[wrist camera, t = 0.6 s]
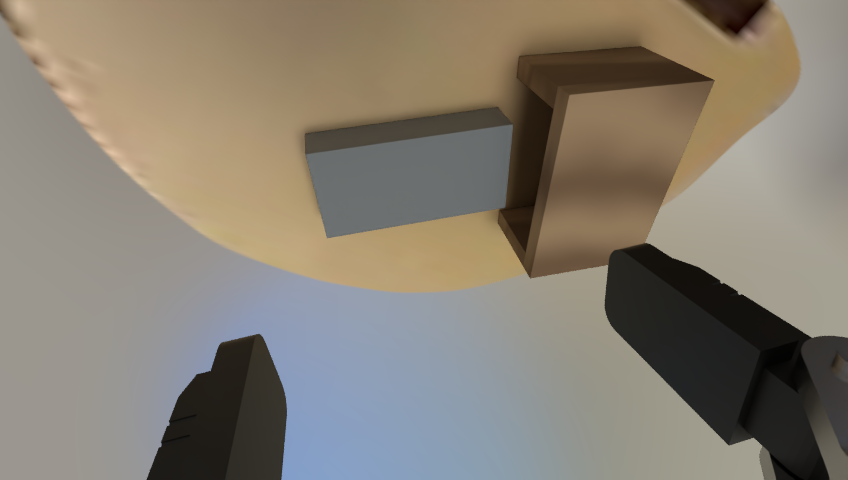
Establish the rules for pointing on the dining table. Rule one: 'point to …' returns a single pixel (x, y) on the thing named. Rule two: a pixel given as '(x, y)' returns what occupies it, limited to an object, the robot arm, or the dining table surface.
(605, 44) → the dining table surface
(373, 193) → the grey rectangular block
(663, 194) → the walnut bridge
